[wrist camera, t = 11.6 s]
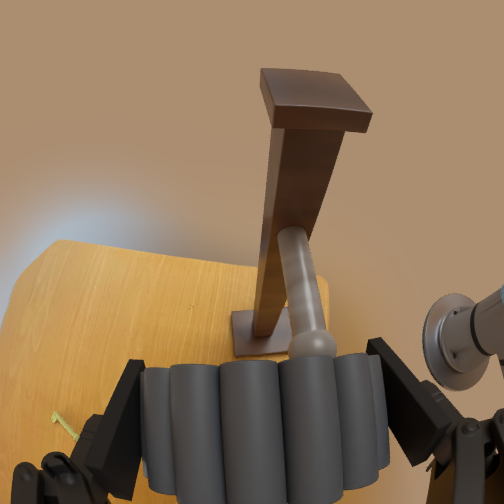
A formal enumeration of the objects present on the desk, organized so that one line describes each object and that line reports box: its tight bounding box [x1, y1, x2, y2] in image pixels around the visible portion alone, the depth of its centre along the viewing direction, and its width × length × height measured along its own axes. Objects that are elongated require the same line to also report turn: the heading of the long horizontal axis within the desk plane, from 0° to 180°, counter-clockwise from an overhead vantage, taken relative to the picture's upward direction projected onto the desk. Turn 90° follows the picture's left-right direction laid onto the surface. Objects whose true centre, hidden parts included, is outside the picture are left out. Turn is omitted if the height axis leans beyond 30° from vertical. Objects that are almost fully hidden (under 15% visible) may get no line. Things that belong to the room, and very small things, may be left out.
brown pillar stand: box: [232, 68, 373, 359], centre depth 27 cm, size 14×10×42 cm
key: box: [51, 411, 80, 441], centre depth 32 cm, size 7×12×2 cm, turn 72°
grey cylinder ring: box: [140, 353, 390, 504], centre depth 11 cm, size 5×11×11 cm, turn 93°
